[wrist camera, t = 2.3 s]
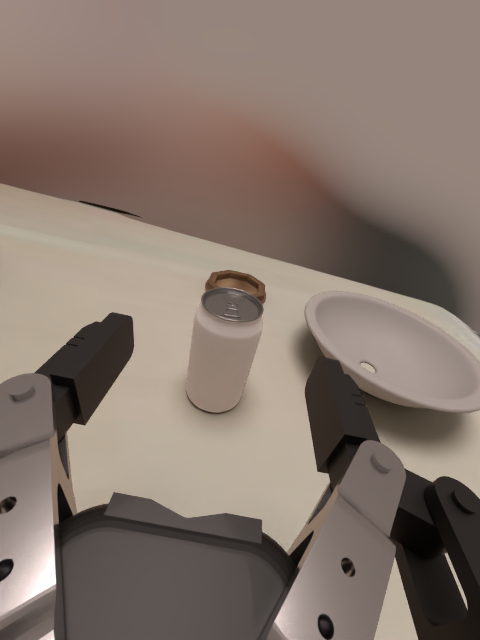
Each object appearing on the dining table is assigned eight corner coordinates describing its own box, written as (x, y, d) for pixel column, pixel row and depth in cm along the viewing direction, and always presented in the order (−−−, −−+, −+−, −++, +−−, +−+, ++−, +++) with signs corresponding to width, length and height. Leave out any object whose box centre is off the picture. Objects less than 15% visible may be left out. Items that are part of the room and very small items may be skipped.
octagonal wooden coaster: (199, 299, 45) (200, 290, 44) (211, 272, 55) (212, 265, 54) (265, 314, 45) (267, 305, 44) (265, 284, 55) (267, 277, 54)
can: (242, 374, 32) (266, 292, 26) (240, 419, 27) (270, 330, 20) (191, 365, 32) (202, 279, 25) (179, 410, 26) (190, 315, 20)
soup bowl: (331, 450, 26) (361, 411, 22) (273, 316, 45) (284, 283, 42) (501, 442, 32) (547, 410, 28) (385, 326, 51) (404, 298, 47)
